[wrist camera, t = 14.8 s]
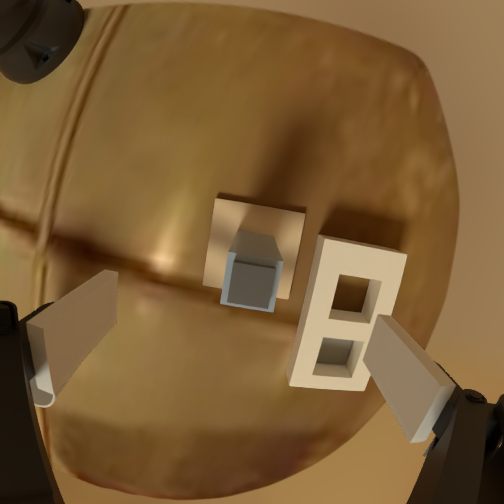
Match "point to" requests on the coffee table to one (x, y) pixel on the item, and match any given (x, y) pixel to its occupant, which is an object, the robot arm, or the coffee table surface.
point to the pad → (255, 221)
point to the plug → (252, 272)
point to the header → (342, 314)
